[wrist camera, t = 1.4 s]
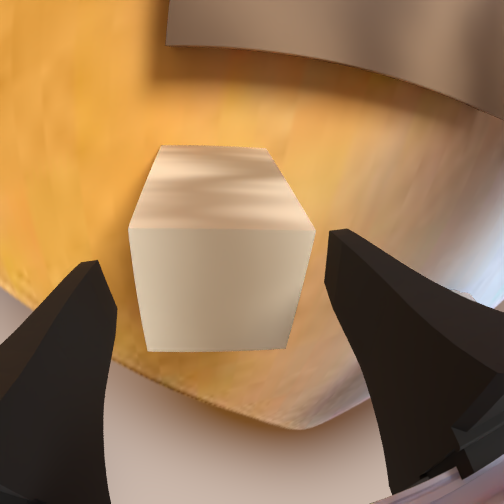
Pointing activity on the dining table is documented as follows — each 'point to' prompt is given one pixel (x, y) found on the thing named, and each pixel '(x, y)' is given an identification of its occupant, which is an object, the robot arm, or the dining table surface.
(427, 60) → the taupe rectangular slab
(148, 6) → the dining table surface
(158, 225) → the maple block
